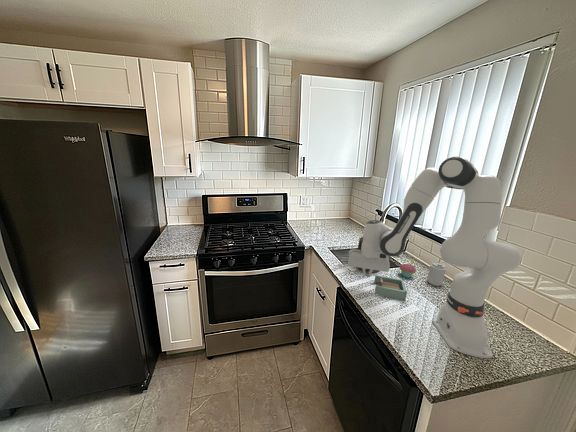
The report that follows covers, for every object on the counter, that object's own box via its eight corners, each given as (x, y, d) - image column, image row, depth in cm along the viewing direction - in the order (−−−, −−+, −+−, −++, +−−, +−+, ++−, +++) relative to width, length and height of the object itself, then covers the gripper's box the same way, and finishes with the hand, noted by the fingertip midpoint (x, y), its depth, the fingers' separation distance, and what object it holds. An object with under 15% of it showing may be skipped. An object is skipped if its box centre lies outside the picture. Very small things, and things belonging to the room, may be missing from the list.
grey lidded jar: (434, 287, 129) (439, 267, 126) (423, 280, 136) (427, 261, 133) (445, 286, 131) (450, 266, 128) (434, 279, 138) (438, 260, 135)
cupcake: (412, 273, 143) (416, 255, 140) (415, 280, 135) (420, 261, 132) (397, 271, 145) (400, 253, 142) (399, 278, 137) (403, 259, 134)
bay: (405, 300, 116) (407, 292, 115) (374, 294, 120) (376, 286, 119) (401, 287, 128) (403, 279, 127) (374, 282, 132) (375, 274, 131)
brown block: (398, 295, 120) (400, 286, 119) (377, 291, 123) (379, 282, 121) (397, 288, 126) (399, 280, 125) (377, 285, 129) (378, 276, 128)
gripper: (349, 250, 120) (346, 275, 123) (392, 256, 115) (387, 282, 118) (349, 246, 126) (346, 270, 129) (390, 251, 121) (386, 276, 124)
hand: (366, 275), depth 124 cm, fingers closed
